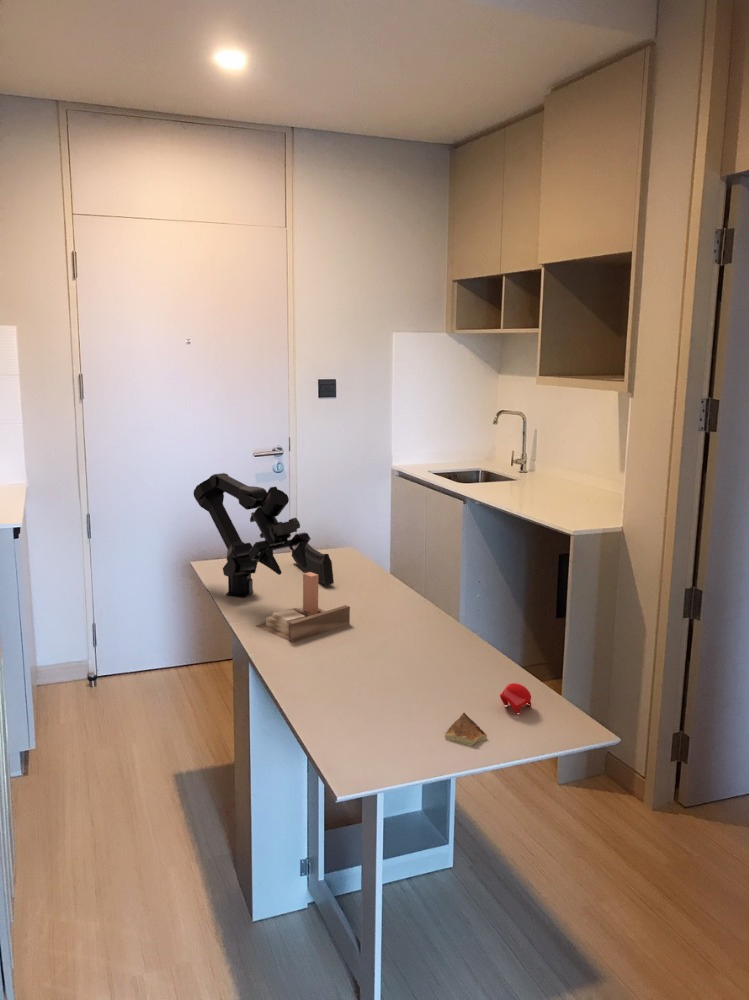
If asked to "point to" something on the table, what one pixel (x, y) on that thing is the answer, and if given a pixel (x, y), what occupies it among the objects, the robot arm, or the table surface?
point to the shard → (465, 731)
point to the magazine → (318, 565)
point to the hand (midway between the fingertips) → (293, 570)
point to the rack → (305, 622)
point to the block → (310, 593)
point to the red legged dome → (515, 696)
